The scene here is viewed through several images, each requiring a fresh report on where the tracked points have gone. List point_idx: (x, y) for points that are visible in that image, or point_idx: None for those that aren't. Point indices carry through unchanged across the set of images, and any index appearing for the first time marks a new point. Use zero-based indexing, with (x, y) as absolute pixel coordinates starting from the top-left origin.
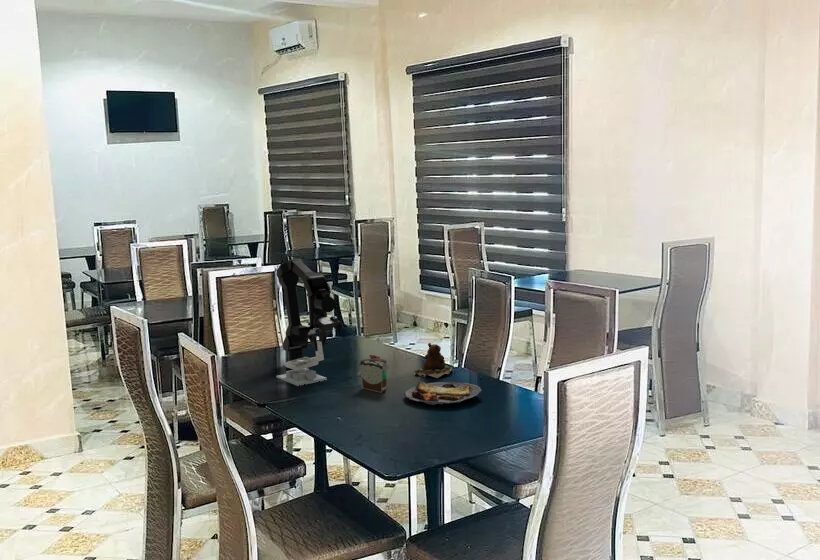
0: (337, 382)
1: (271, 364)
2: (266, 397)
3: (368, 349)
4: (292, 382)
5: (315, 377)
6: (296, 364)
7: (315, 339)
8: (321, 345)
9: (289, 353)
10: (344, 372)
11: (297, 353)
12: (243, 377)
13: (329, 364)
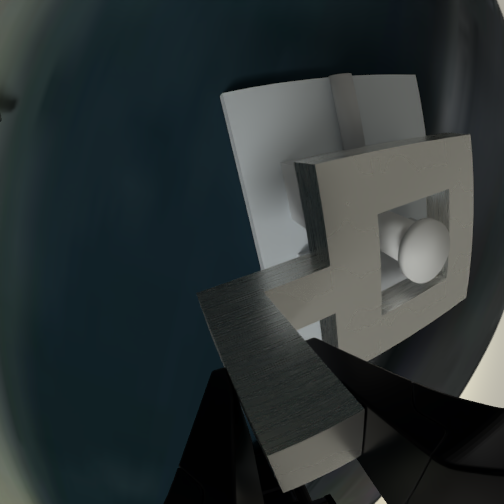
0: (173, 13)
1: (330, 472)
2: (497, 34)
3: (11, 496)
4: (422, 129)
5: (291, 143)
6: (457, 194)
7: (441, 429)
8: (253, 399)
9: (308, 494)
10: (53, 260)
11: (282, 492)
12: (465, 347)
13: (124, 440)
